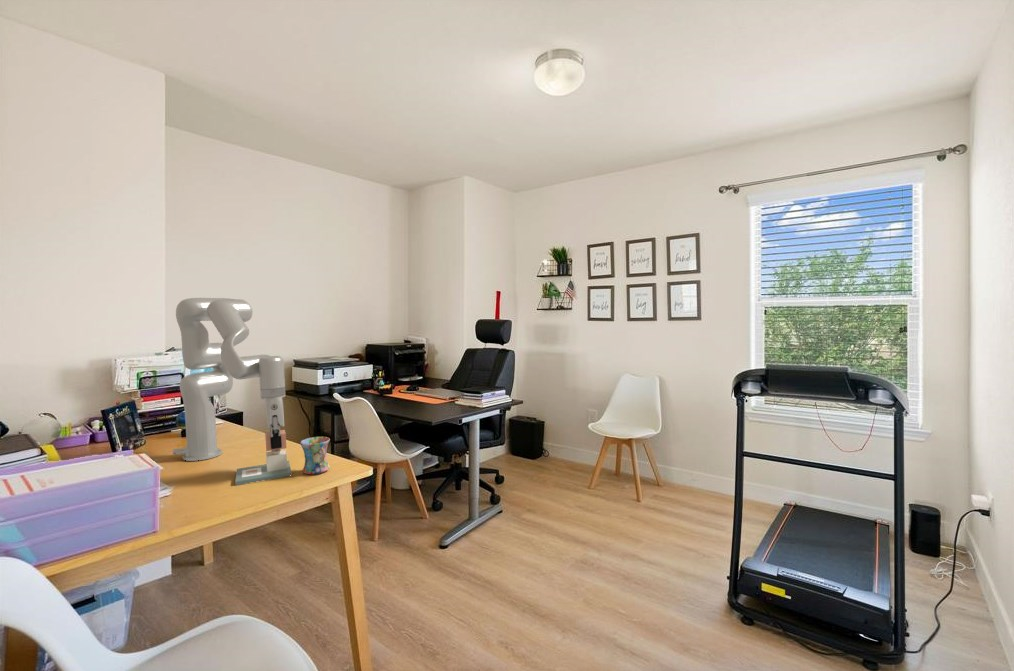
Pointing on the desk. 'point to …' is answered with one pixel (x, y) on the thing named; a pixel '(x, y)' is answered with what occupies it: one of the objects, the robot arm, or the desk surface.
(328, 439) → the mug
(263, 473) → the baseplate
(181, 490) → the desk surface
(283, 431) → the terracotta brick
